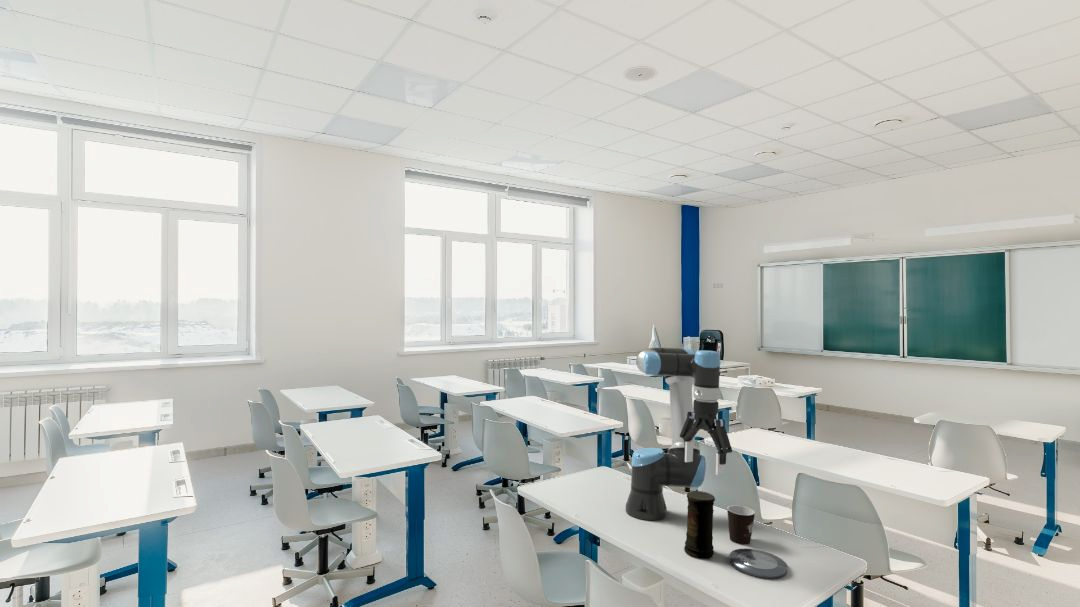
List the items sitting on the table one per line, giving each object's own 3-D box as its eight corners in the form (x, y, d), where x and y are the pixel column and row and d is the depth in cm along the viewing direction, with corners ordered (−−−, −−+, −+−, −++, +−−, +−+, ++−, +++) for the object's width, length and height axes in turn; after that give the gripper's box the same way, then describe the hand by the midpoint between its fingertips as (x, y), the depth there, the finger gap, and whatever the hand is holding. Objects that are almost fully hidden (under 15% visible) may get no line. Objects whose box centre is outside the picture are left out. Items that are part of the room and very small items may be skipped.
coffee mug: (736, 547, 168) (737, 516, 169) (720, 536, 177) (721, 506, 177) (767, 544, 172) (768, 513, 172) (750, 533, 180) (751, 504, 180)
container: (694, 543, 170) (696, 488, 170) (719, 554, 163) (721, 496, 163) (678, 551, 164) (679, 493, 164) (703, 562, 157) (705, 502, 158)
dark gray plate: (717, 558, 160) (717, 552, 160) (756, 550, 167) (756, 544, 167) (759, 583, 146) (759, 577, 146) (799, 573, 152) (799, 567, 152)
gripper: (670, 394, 174) (668, 457, 174) (727, 408, 151) (724, 481, 151) (687, 393, 177) (685, 455, 177) (746, 406, 155) (743, 478, 154)
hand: (703, 467), depth 164 cm, fingers open, 13 cm apart
